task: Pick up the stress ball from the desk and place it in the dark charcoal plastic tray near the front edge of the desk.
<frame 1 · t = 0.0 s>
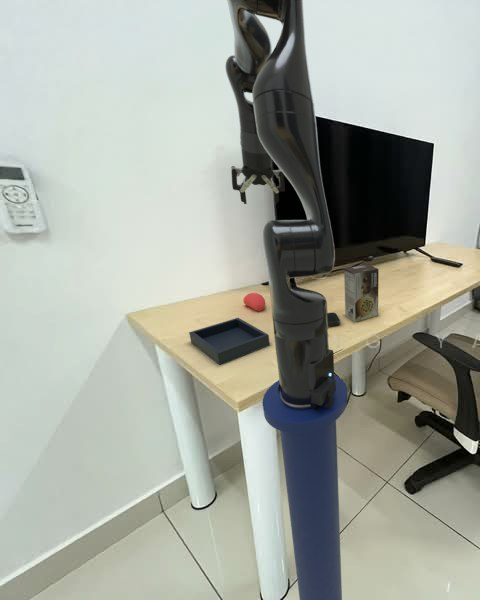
hand: (260, 203, 96), 33 cm above the table, tool tilted 20°, fingers open, 8 cm apart
tray: (230, 344, 81), on the table
stress ball: (255, 308, 104), on the table
coffee box: (361, 316, 102), on the table
phone: (313, 323, 95), on the table
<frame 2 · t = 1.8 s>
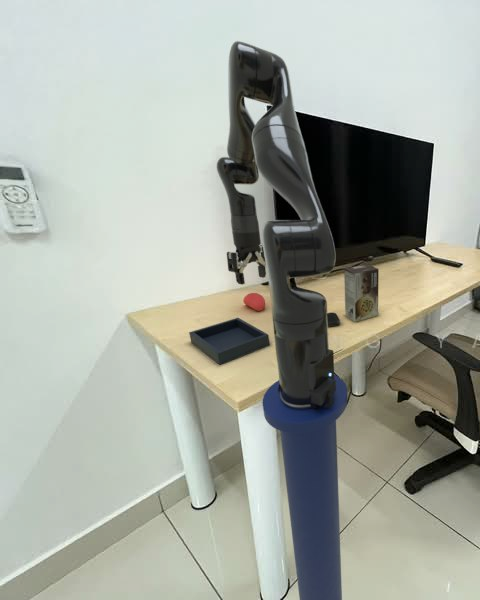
hand: (252, 280, 100), 10 cm above the table, tool pointing down, fingers open, 8 cm apart
nothing on the table moved.
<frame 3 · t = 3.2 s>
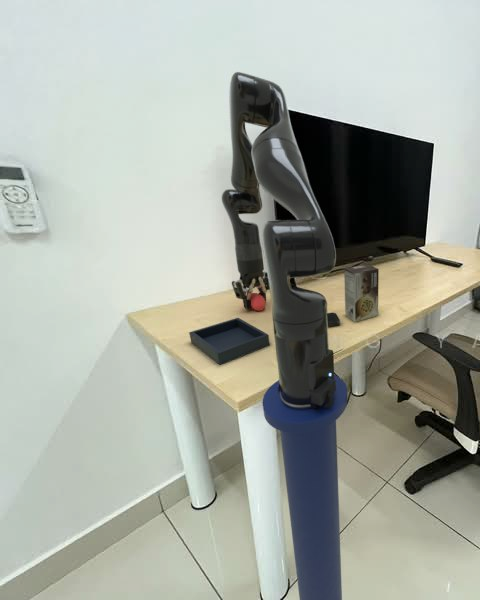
hand: (255, 306, 104), 1 cm above the table, tool pointing down, fingers closed on stress ball, 5 cm apart
stress ball: (255, 308, 104), on the table, touching gripper
everything else where it was.
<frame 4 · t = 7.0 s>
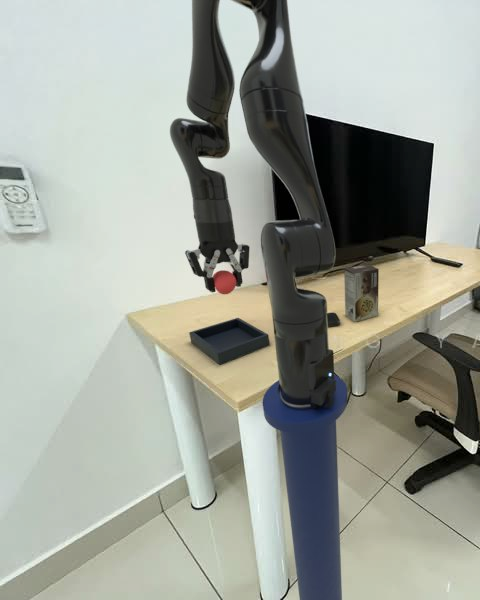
hand: (225, 288, 78), 15 cm above the table, tool pointing down, fingers closed on stress ball, 5 cm apart
stress ball: (225, 291, 78), point 14 cm above the table, touching gripper
everything else where it was.
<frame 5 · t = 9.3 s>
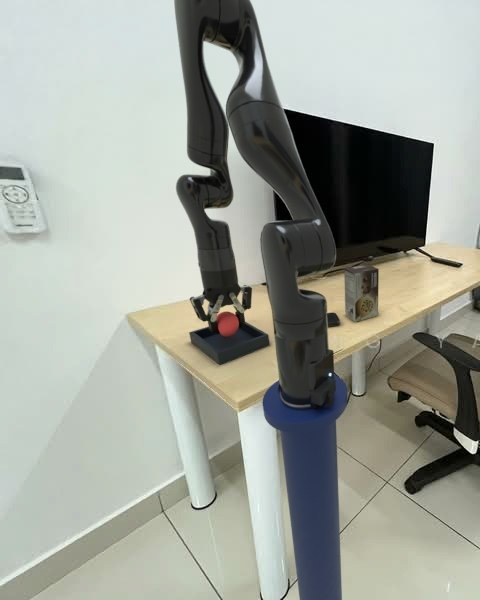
hand: (228, 329, 80), 4 cm above the table, tool pointing down, fingers closed on stress ball, 5 cm apart
stress ball: (228, 332, 80), point 3 cm above the table, touching gripper
everything else where it was.
when the fingers open (1 cm above the table, at t = 10.7 s): stress ball stays where it is, resting on tray.
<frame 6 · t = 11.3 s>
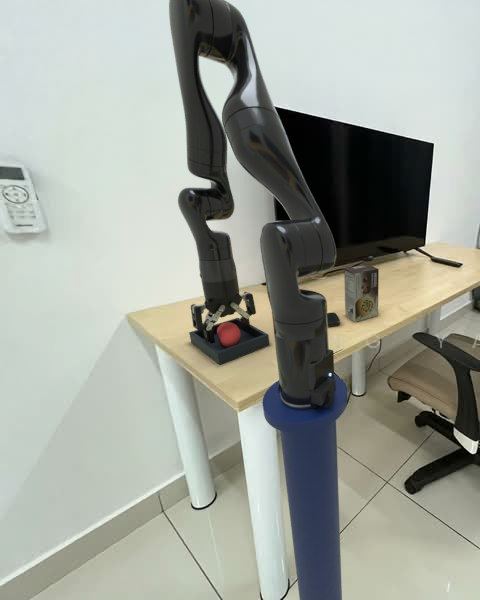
hand: (229, 336, 80), 2 cm above the table, tool pointing down, fingers open, 8 cm apart
stress ball: (230, 342, 81), resting on tray
everything else where it was.
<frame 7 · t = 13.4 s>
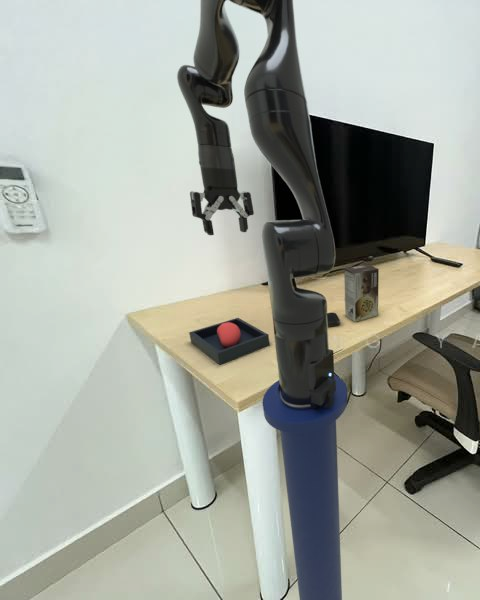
hand: (227, 233, 82), 27 cm above the table, tool pointing down, fingers open, 8 cm apart
nothing on the table moved.
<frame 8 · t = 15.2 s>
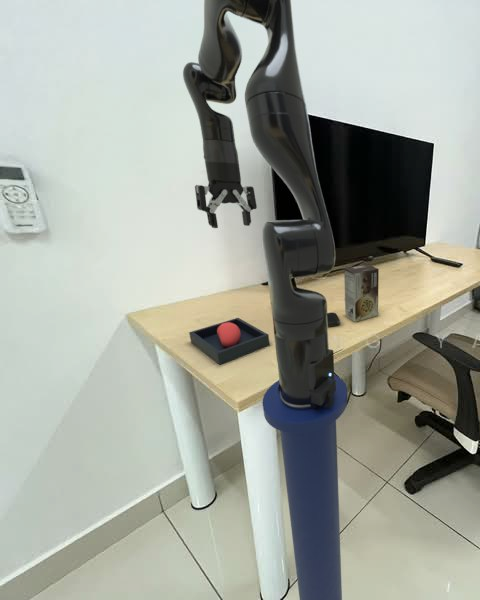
hand: (231, 226, 84), 28 cm above the table, tool pointing down, fingers open, 8 cm apart
nothing on the table moved.
at the end: stress ball inside the target area in the tray (0.1 cm from its centre), point 0.4 cm above the tray's base; the gripper is holding nothing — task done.
